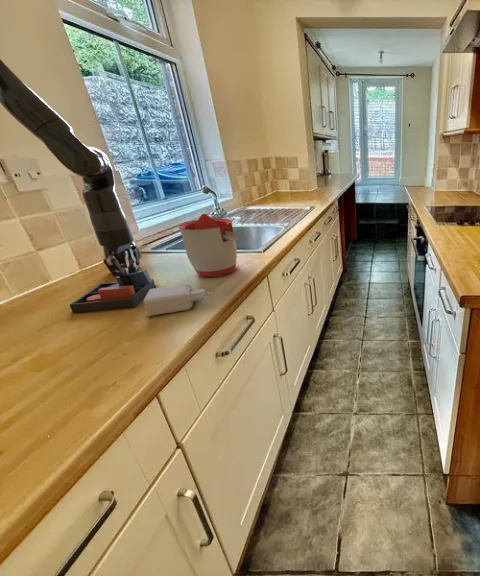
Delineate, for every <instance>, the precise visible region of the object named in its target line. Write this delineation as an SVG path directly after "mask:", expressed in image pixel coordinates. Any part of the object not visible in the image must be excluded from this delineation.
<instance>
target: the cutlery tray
mask: <svg viewBox="0 0 480 576" xmlns="http://www.w3.org/2000/svg"><path fill="white" fill-rule="evenodd" d="M151 280H152V282H151V283H150V284H146V285H142V286H139V287H135V288H134V290H135V294H134V295H133V296H132V297H130V298H129V299H118V300H107V301H96V302H87V298H88V297H90V296H93V295H97V294H99V292H98V290H99V289H100V288H106V287H109V286H111V285H114V284H117V283H118V282H117V281H114V282H101V283H99V284H97V285H96V286H95V287H93V288H92V289H90V290H88V291H87V292H86V293H84V294H83V295H82V296H80V297H79V298H77V299H75V300H74V301H73V302H71V303H70V304H69V307H70V309H71V312H72V313H73V314H80V313H88V312H89V313H91V312H99V311H109V310H111V311H112V310H119V309H120V310H121V309H129V308H131V309H132V308H135V307H136V306H137V305H138V304H139V303H140V302H141V301H142V300H144V298H145V297H146V295H147V293H148V292H149V290H150V289H154V288H156V283H155V281H154V279H153V278H151Z"/></svg>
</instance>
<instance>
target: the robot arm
mask: <svg viewBox="0 0 480 576" xmlns="http://www.w3.org/2000/svg"><path fill="white" fill-rule="evenodd" d="M0 105H1V106H2V107H3V108H4V109H5V110H6V111H7V112H8V113H9V114H10V115H11V117H13V118H14V119H15V121H17V122H18V123H19V124H20V125H22V127H24V128H25V129H26V130H27V131H28V132H29V133H31V134H32V135H33V136H35V138H37V139H38V140H39V141H41V142H42V143H43V145H45V147H46V148H47V149H48V150H49V152H50V153H51V154H52V155H53V156H54V157H55V158H56V159H57V161H58V162H60V164H61V165H62V166H63V167H65V168H66V169H67V170H68V171H69V172H71V173H73V174H75V175H76V176H78V177H81V178H82V181H83V182H82V183H83V186H84V187H83V190H82V192H81V193H82V198H83V201H84V203H85V206H86V209H87V211H88V214H89V215H88V216H89V220H90V223H91V226H92V227H93V231H94V233H95V237H96V238H97V241H98V244H99V245H100V247H102V248H103V247H106V248H107V249H108V255H109V257H108V259H105V258H103V259H102V260H103V264H104V265H105V266H106V268H107V270H108V271H109V272H110V274H111V276H113V277H115V278H116V277H118V276H119V277H120V279H121V281H122V284H123V286H129V285H133V283H132V280H131V277H130V275H129V273H133V272H137V271H138V268H139V267H137V265H139V264H140V263H139V256H138V250H137V247H138V245H137V244H136V245H137V246H136V245H134V246H131V245H130V243H132V242H133V241H134V236H133V233H132V231H131V228H130V225H129V224H130V223H129V222H128V219H127V215H126V214H125V212H124V210H123V207H122V204H121V200H120V199H119V196H118V194H117V191H116V183H115V182H116V181H115V176H114V170H113V166H112V164H111V162H110V160H109V158H108V156H107V155H106V154H105V153H104V152H103V151H101V150H100V149H98V148H95V147H92V146H86V145H85V144H84V143H83V142H82V141H81V140H80V139H79V138H78V137H77V136H76V135H75V134H74V130H73V128H72V126H70V124H69V123H68V122H67V121H66V120H65V119H64V118H62V117H61V116H60V115H59V114H58V113H57V112H56V111H55V110H54V109H53V108H51V106H49V105H48V104H47V103H46V102H45V100H43V99H42V98H41V97H40V96H39V95H37V94H36V93H35V92H34V91H33V90H32V89H31V88H30V87H29V86H28V85H27V84H26V83H25V82H24V81H23V80H22V79H20V77H18V76H17V74H16V73H15V72H13V71H12V70H11V69H10V67H8V66H7V65H6V63H5V62H4V61H3V60H2V59H1V58H0ZM134 242H135V241H134ZM120 264H124V265H120ZM140 265H141V264H140ZM122 268H124V271H123V269H122Z"/></svg>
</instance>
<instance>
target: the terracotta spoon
mask: <svg viewBox="0 0 480 576" xmlns="http://www.w3.org/2000/svg"><path fill="white" fill-rule="evenodd" d="M98 292H99V294H97V295H93V296H90V297H88V298H87V302H96V301H107V300H118V299H129V298H130V297H132V296H133V295H134V294H135V290H134V287H133V285H129V286H117V287H106V288H100V289H99V290H98Z"/></svg>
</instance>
